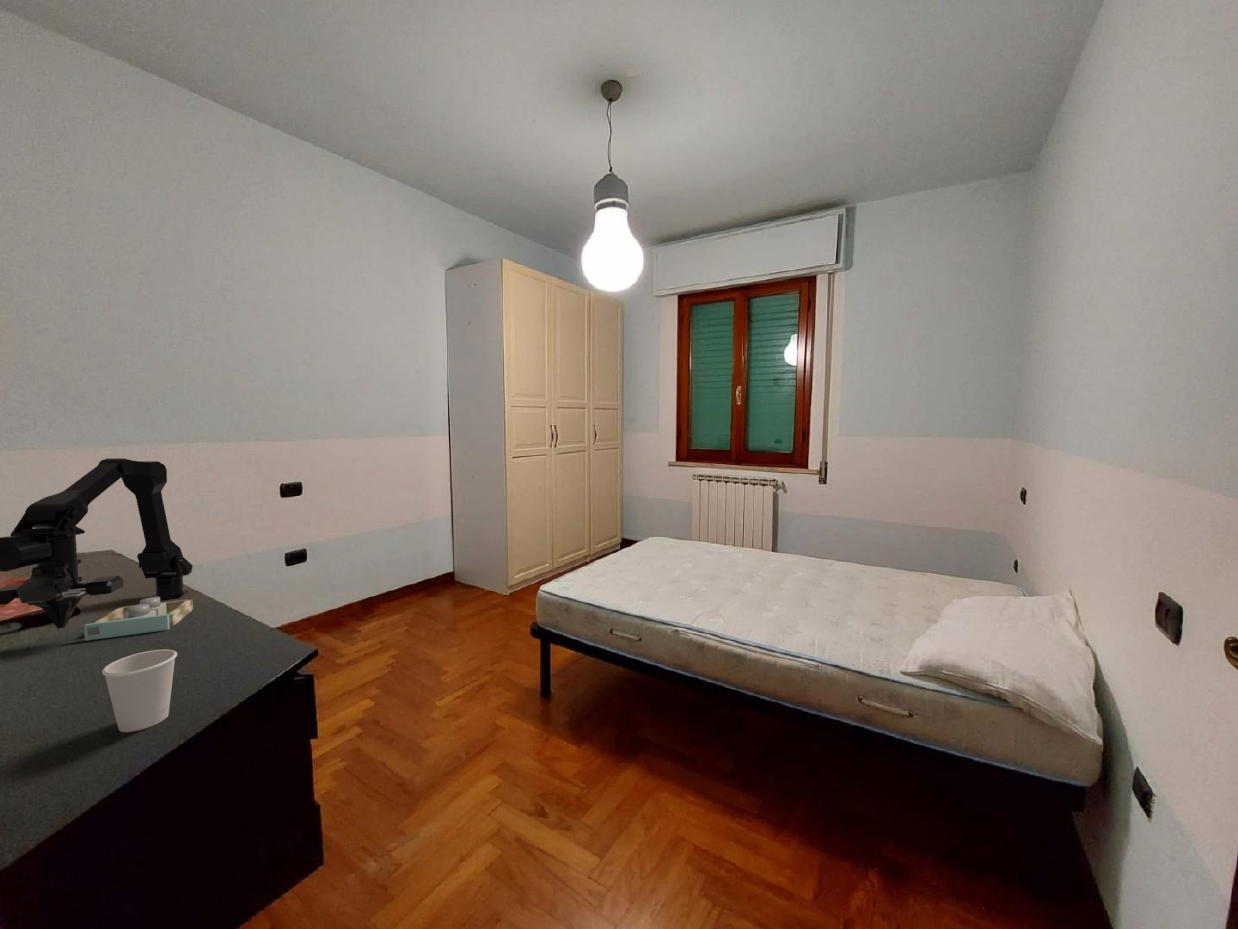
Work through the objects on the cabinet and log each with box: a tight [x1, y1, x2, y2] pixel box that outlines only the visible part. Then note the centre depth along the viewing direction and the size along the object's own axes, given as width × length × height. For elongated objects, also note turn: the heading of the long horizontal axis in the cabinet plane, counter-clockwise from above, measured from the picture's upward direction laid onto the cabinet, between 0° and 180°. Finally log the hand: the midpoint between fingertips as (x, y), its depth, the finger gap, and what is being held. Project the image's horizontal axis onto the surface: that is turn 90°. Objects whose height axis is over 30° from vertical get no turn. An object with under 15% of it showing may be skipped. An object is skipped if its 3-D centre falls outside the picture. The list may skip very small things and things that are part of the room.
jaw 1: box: [121, 603, 156, 620], centre depth 111 cm, size 4×4×5 cm
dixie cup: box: [101, 648, 178, 733], centre depth 74 cm, size 8×8×10 cm
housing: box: [94, 598, 194, 627], centre depth 114 cm, size 12×14×3 cm
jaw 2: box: [139, 596, 167, 615], centre depth 116 cm, size 4×4×5 cm
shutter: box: [83, 613, 171, 642], centre depth 106 cm, size 1×14×4 cm, turn 116°
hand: (61, 627), depth 102 cm, fingers closed
